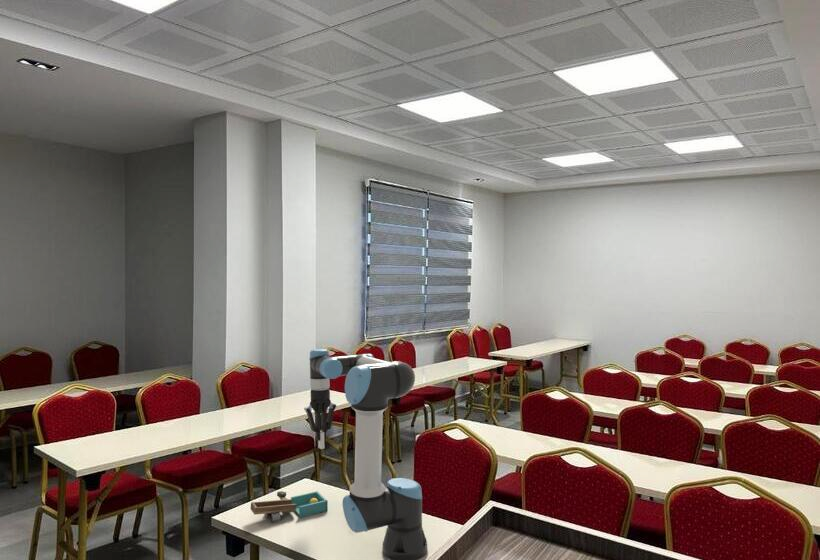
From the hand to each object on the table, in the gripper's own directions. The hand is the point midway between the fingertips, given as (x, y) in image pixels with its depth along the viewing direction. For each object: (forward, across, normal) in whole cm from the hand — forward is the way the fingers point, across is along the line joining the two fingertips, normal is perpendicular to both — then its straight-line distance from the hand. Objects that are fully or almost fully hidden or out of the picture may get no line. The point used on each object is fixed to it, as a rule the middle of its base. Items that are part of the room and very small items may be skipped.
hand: (321, 448), depth 220 cm
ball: (+22, +3, -2) cm, 22 cm away
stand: (+24, +19, -3) cm, 31 cm away
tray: (+24, +5, -2) cm, 24 cm away
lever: (+22, +19, -8) cm, 30 cm away
